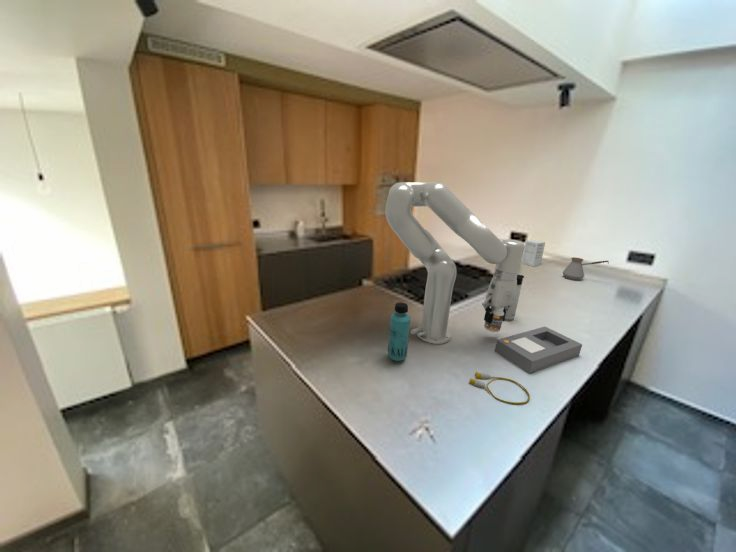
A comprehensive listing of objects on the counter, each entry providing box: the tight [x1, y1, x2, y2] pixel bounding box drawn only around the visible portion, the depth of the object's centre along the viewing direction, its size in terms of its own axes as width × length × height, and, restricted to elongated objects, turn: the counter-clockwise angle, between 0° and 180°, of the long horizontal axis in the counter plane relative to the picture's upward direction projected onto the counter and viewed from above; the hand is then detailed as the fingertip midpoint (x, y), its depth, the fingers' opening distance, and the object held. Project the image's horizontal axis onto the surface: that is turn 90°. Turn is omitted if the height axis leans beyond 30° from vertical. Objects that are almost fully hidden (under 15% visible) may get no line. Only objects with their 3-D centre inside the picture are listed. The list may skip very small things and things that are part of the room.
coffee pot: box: [562, 256, 610, 281], centre depth 186 cm, size 21×12×15 cm, turn 46°
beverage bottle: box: [387, 302, 411, 362], centre depth 97 cm, size 6×7×20 cm
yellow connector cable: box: [468, 371, 531, 406], centre depth 89 cm, size 12×16×2 cm
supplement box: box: [520, 239, 546, 267], centre depth 216 cm, size 10×9×17 cm
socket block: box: [494, 326, 583, 374], centre depth 107 cm, size 26×14×5 cm, turn 116°
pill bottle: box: [483, 303, 504, 333], centre depth 113 cm, size 6×6×10 cm
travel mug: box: [504, 274, 525, 322], centre depth 130 cm, size 6×7×20 cm
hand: (493, 320), depth 113 cm, fingers closed on pill bottle, 5 cm apart
